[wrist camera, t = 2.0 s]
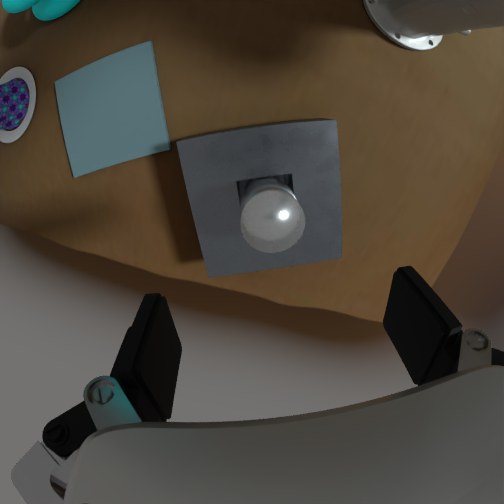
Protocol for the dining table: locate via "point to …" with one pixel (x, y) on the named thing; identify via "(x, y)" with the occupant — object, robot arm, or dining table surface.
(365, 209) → the dining table surface
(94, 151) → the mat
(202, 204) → the housing
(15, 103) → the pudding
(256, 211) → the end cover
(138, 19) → the dining table surface
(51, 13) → the donuts
